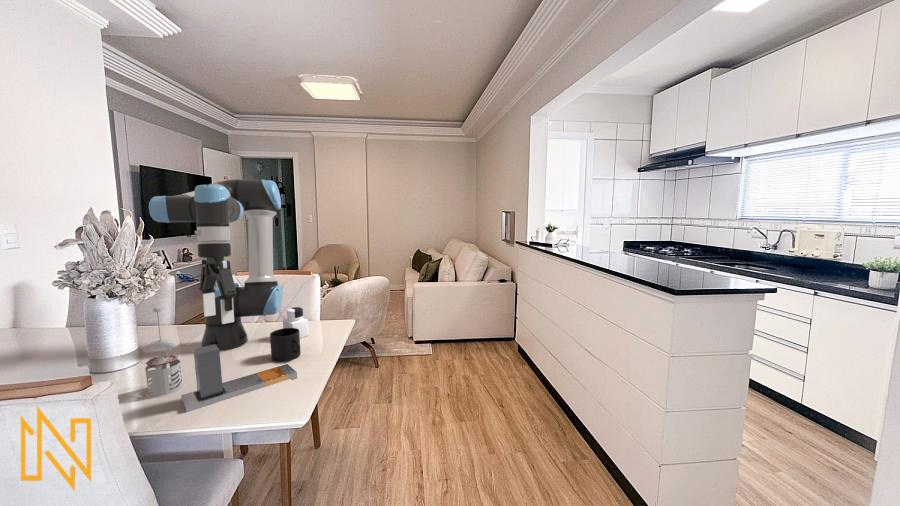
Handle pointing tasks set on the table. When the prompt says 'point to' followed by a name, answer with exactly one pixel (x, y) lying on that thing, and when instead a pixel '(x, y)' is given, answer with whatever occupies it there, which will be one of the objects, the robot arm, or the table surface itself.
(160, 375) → the french press
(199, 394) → the graphite post
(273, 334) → the mug
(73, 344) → the table surface
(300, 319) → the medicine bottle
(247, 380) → the rail
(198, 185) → the robot arm
